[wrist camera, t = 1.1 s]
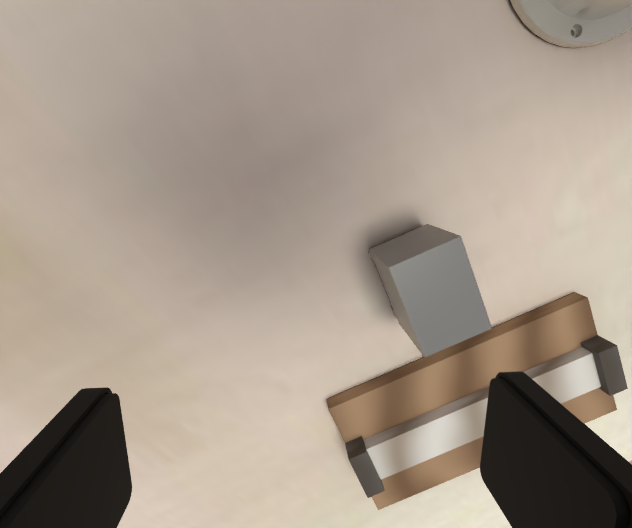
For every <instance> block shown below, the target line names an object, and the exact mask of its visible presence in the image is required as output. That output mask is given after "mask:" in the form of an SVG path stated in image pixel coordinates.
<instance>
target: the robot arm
mask: <svg viewBox="0 0 632 528" xmlns="http://www.w3.org/2000/svg"><path fill="white" fill-rule="evenodd" d="M510 1H511V3H512V6H513V8H514V10H515V11H516V13H517V14H518V16H519V17H520V19H521V20H522V22H523V23H524V24H525V25H526V26H527V27H528V28H529V29H530V30H531V31H532V32H533V33H534V34H536V35H537V36H539V37H541V38H542V39H544V40H545V41H547V42H550V43H553V44H556V45H559V46H562V47H572V48H579V47H588V46H593V45H596V44H599V43H602V42H605V41H607V40H610V39H612V38H614V37H616V36H618V35H621V34H623V33H624V32H626V31H627V30H629V29H630V28H632V0H510ZM480 472H481V476H482V479H483V481H484V483H485V484H486V486H487V488H488V489H489V491H490V492H491V494H492V496H493V497H494V499H495V500H496V502H497V504H498V505H499V507H500V509H501V510H502V512H503V513H504V515H505V517H506V518H507V520H508V521H509V523H510V525H511V526H512V528H632V465H631V464H630V463H629V462H628V461H627V460H626V459H624V458H623V457H622V456H621V455H620V454H619V453H617V452H616V451H615V450H614V449H613V448H612V447H610V446H609V445H608V444H607V443H606V442H605V441H604V440H602V439H601V438H600V437H599V436H598V435H597V434H595V433H594V432H593V431H592V430H591V429H590V428H588V427H587V426H586V425H585V424H584V423H583V422H581V421H580V420H579V419H578V418H577V417H576V416H574V415H573V414H572V413H571V412H570V411H569V410H567V409H566V408H565V407H564V406H563V405H562V404H561V403H559V402H558V401H557V400H556V399H555V398H554V397H552V396H551V395H550V394H549V393H548V392H547V391H545V390H544V389H543V388H542V387H541V386H540V385H538V384H537V383H536V382H535V381H534V380H533V379H531V378H530V377H529V376H528V375H527V374H526V373H524V372H521V371H517V372H499V373H498V374H497V375H496V378H493V379H491V381H490V385H489V394H488V402H487V411H486V419H485V427H484V436H483V444H482V453H481V461H480ZM131 492H132V482H131V476H130V469H129V462H128V455H127V448H126V441H125V434H124V427H123V421H122V414H121V407H120V400H119V396H118V395H117V394H116V393H115V394H112V391H111V390H110V389H109V388H86V389H82V390H80V391H79V392H78V393H77V394H76V395H75V396H74V397H73V398H72V399H71V400H70V401H69V402H68V403H67V404H66V406H65V407H64V408H63V409H62V410H61V411H60V412H59V413H58V414H57V415H56V416H55V417H54V418H53V419H52V420H51V421H50V422H49V423H48V424H47V425H46V426H45V427H44V429H43V430H42V431H41V432H40V433H39V434H38V435H37V436H36V437H35V438H34V439H33V440H32V441H31V442H30V443H29V444H28V445H27V446H26V447H25V448H24V449H23V450H22V452H21V453H20V454H19V455H18V456H17V457H16V458H15V459H14V460H13V461H12V462H11V463H10V464H9V465H8V466H7V467H6V468H5V469H4V470H3V471H2V472H1V473H0V528H117V526H118V524H119V522H120V520H121V518H122V516H123V514H124V511H125V509H126V507H127V505H128V503H129V501H130V497H131Z"/></svg>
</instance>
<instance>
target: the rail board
mask: <svg viewBox="0 0 632 528" xmlns="http://www.w3.org/2000/svg"><path fill="white" fill-rule="evenodd" d="M517 371H521V372H524V373H526V374H527V375H528V376H529V377H530V378H531V379H533V380H534V381H535V382H536V383H537V384H538V385H540V386H541V387H542V388H543V389H544V390H545V391H547V392H548V393H549V394H550V395H551V396H552V397H554V398H555V399H556V400H557V401H558V402H559V403H561V404H562V405H563V406H564V407H565V408H566V409H567V410H569V411H570V412H571V413H572V414H573V415H574V416H576V417H577V418H578V419H579V420H580V421H581V422H583V423H586V422H589V421H591V420H594V419H596V418H598V417H601V416H603V415H605V414H608V413H610V412H613V411H615V410H617V408H616V404H615V400H614V397H613V394H616V393H618V392H621V391H623V390H625V389H628V388H627V384H626V380H625V376H624V372H623V368H622V364H621V360H620V356H619V352H618V348H617V345H615V344H613V343H611V342H609V341H608V340H606V339H604V338H602V337H600V336H598V335H597V331H596V328H595V324H594V320H593V316H592V312H591V308H590V304H589V301H588V298H587V297H585V296H583V295H580V294H578V293H575V292H574V293H572V294H569V295H567V296H565V297H562V298H560V299H558V300H556V301H553V302H551V303H549V304H546V305H544V306H542V307H539V308H537V309H535V310H532V311H530V312H528V313H525V314H523V315H521V316H518V317H516V318H514V319H511V320H509V321H507V322H504V323H502V324H500V325H498V326H495V327H493V328H492V329H490V330H487V331H485V332H483V333H480V334H478V335H476V336H474V337H471V338H469V339H467V340H464V341H462V342H460V343H457V344H455V345H453V346H450V347H448V348H446V349H443V350H441V351H439V352H436V353H434V354H432V355H429V356H427V357H423V358H421V359H419V360H416V361H414V362H412V363H409V364H407V365H405V366H402V367H400V368H398V369H395V370H393V371H391V372H388V373H386V374H384V375H382V376H379V377H377V378H375V379H372V380H370V381H368V382H365V383H363V384H361V385H358V386H356V387H354V388H351V389H349V390H347V391H344V392H342V393H340V394H337V395H335V396H333V397H330V398H328V399H327V403H328V409H329V411H330V413H331V415H332V417H333V419H334V421H335V423H336V425H337V427H338V429H339V431H340V433H341V435H342V437H343V439H344V441H345V444H346V449H347V454H348V458H349V461H350V463H351V465H352V467H353V469H354V471H355V473H356V475H357V477H358V479H359V481H360V483H361V485H362V487H363V489H364V491H365V493H366V495H367V497H368V498H369V497H372V498H373V500H374V502H375V504H376V506H377V508H378V510H379V509H382V508H384V507H387V506H389V505H391V504H394V503H396V502H399V501H401V500H403V499H406V498H408V497H410V496H413V495H415V494H418V493H420V492H422V491H425V490H427V489H429V488H432V487H434V486H437V485H439V484H441V483H444V482H446V481H448V480H451V479H453V478H456V477H458V476H460V475H463V474H465V473H468V472H470V471H472V470H475V469H477V468H479V467H480V461H481V453H482V444H483V436H484V427H485V419H486V411H487V402H488V394H489V385H490V381H491V379H493V378H496V375H497V374H498V373H499V372H517Z"/></svg>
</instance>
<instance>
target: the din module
mask: <svg viewBox="0 0 632 528" xmlns="http://www.w3.org/2000/svg"><path fill="white" fill-rule="evenodd" d="M369 250H370V251H369V254H370V257H371V259H372V260H373V261H374V262H375V265H376V267H377V270H378V272H379V275H380V277H381V280H382V282H383V285H384V287H385V289H386V292H387V294H388V297H389V299H390V302H391V304H392V311H393V313H394V315H395V316H396V318H397V319H398V321H399V324H400V325H401V326H402V328H403V329H404V331H405V332H406V333H407V335H408V336H409V337H410V339H411V340H412V341H413V343H414V344H415V345H416V347H417V348H418V349H419V351H420V352H421V353H422V355H423V356H424V357H427V356H429V355H432V354H434V353H436V352H439V351H441V350H443V349H446V348H448V347H450V346H453V345H455V344H457V343H460V342H462V341H464V340H467V339H469V338H471V337H474V336H476V335H478V334H480V333H483V332H485V331H487V330H490V329H492V327H491V324H490V321H489V318H488V315H487V312H486V309H485V306H484V303H483V300H482V297H481V294H480V291H479V288H478V285H477V283H476V280H475V277H474V274H473V271H472V268H471V265H470V262H469V259H468V256H467V253H466V250H465V247H464V244H463V241H462V238H461V236H459V235H456V234H454V233H451V232H448V231H445V230H443V229H440V228H437V227H434V226H432V225H429V224H426V225H424V226H421V227H419V228H417V229H414V230H412V231H410V232H408V233H405V234H403V235H401V236H399V237H396V238H394V239H392V240H390V241H387V242H385V243H383V244H380V245H378V246H376V247H374V248H371V249H369Z"/></svg>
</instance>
